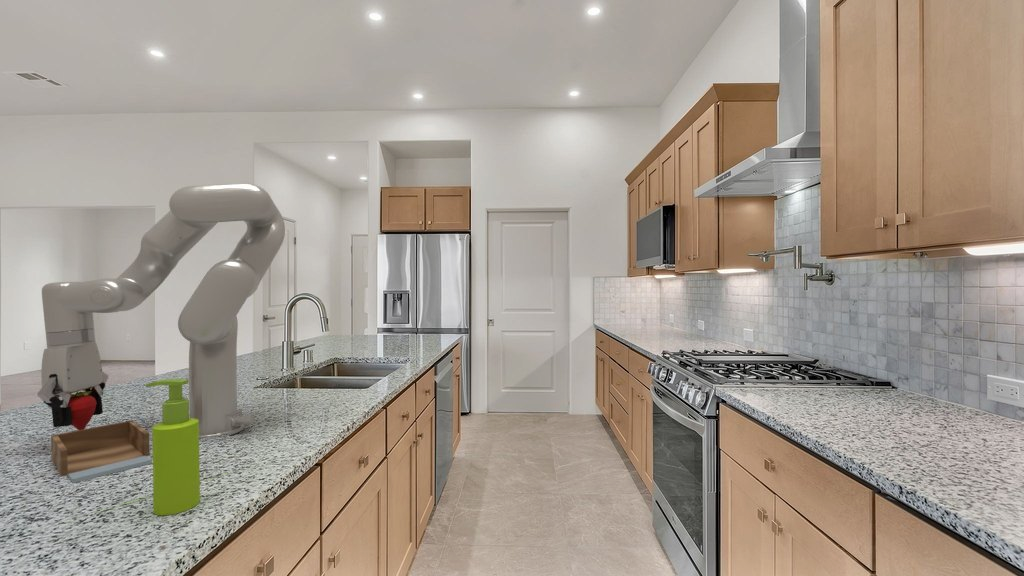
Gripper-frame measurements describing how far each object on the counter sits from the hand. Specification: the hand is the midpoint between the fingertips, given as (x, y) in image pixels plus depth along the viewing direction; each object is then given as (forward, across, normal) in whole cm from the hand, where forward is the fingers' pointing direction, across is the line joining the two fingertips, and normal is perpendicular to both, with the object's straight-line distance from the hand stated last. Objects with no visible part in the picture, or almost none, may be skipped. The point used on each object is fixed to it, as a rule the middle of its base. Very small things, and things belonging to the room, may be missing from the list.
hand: (79, 419), depth 97 cm
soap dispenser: (+8, +31, +37) cm, 49 cm away
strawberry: (+3, 0, 0) cm, 3 cm away
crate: (+7, +9, +10) cm, 15 cm away
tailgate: (+6, +14, +16) cm, 22 cm away
